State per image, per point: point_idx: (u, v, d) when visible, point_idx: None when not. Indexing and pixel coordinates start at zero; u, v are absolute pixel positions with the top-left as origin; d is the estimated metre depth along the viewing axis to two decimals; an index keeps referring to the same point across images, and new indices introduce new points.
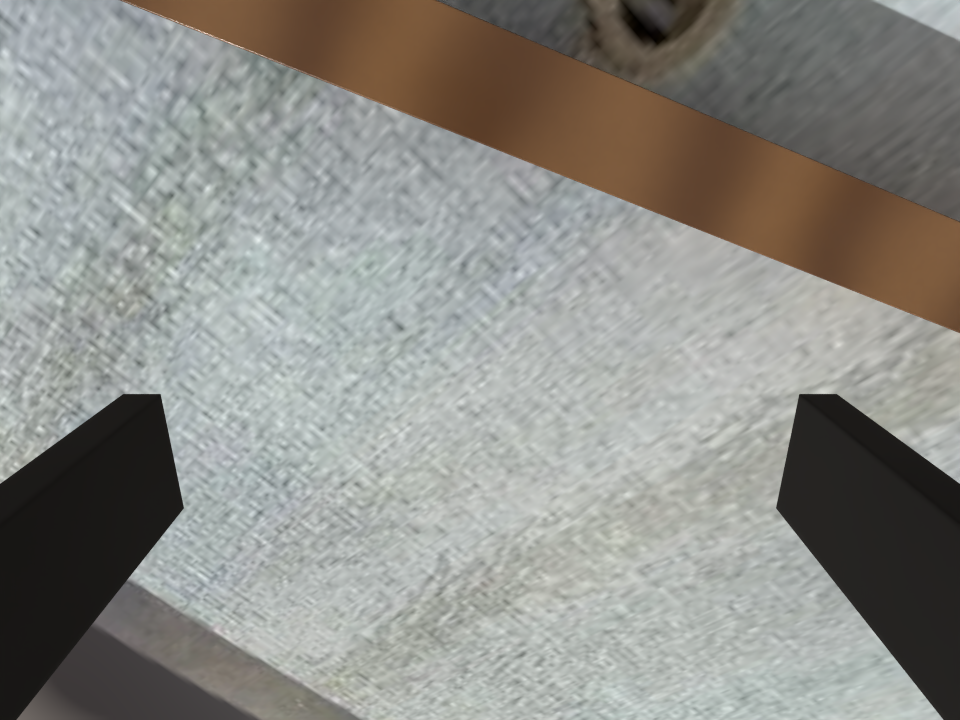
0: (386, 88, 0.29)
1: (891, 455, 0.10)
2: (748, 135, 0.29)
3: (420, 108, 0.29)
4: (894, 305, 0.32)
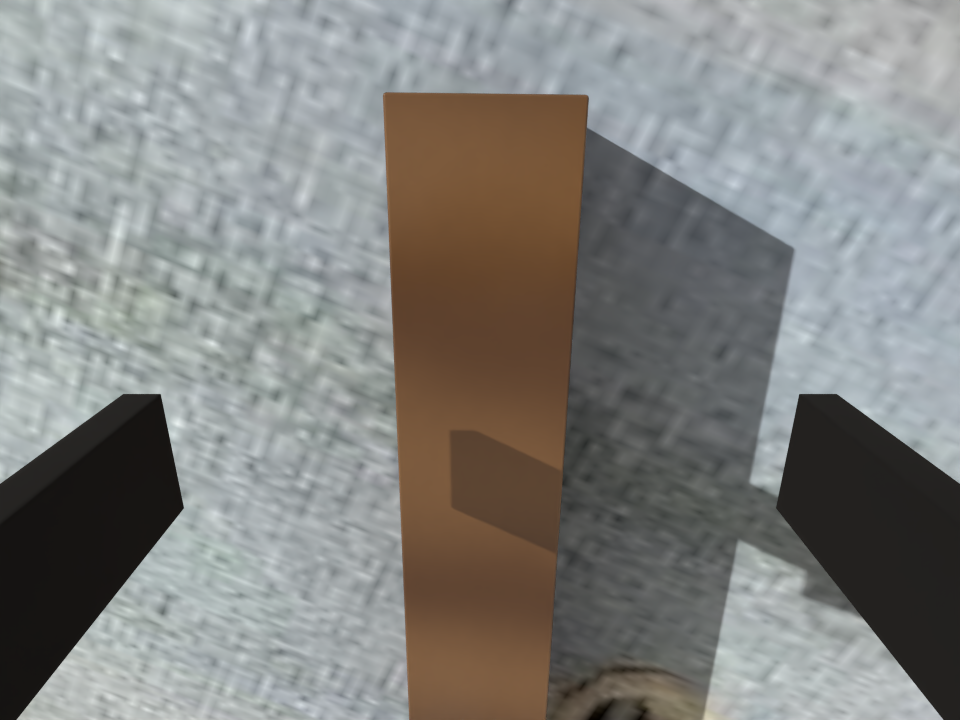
0: (427, 677, 0.21)
1: (891, 455, 0.10)
2: None
3: (421, 714, 0.22)
4: None
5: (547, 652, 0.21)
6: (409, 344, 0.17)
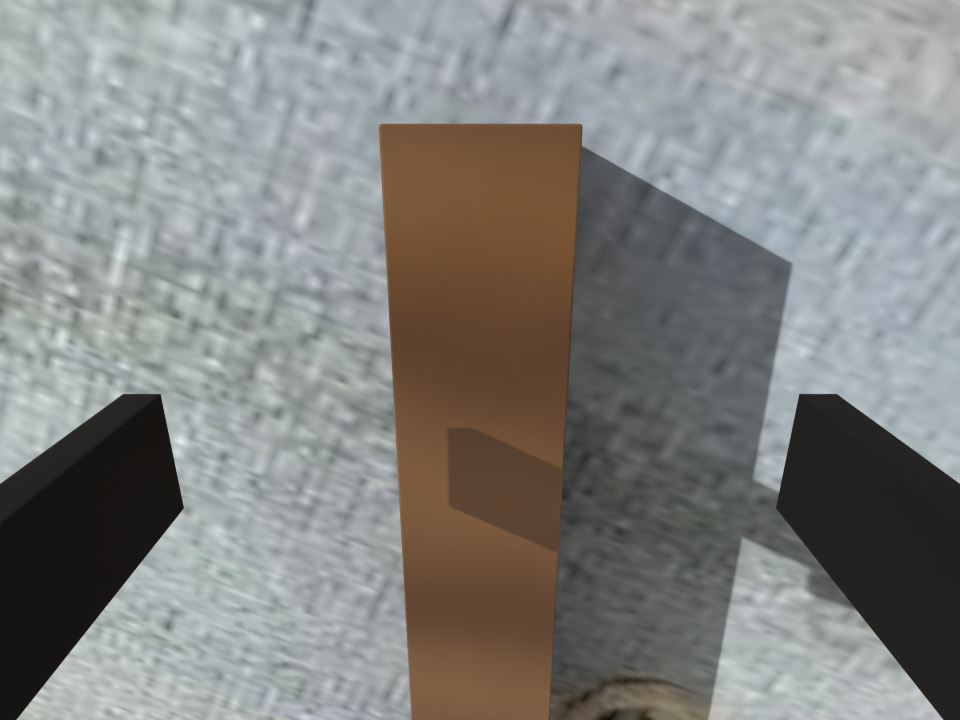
0: (430, 694, 0.21)
1: (891, 455, 0.10)
2: None
3: None
4: None
5: (548, 669, 0.21)
6: (408, 369, 0.17)
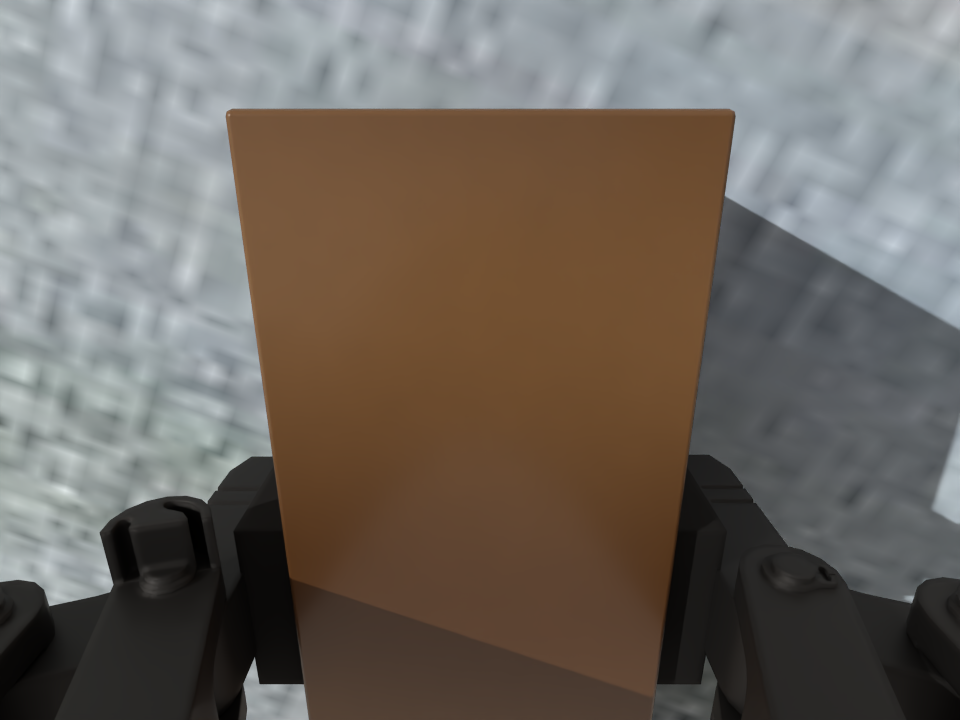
0: None
1: None
2: None
3: None
4: None
5: None
6: (328, 627, 0.08)
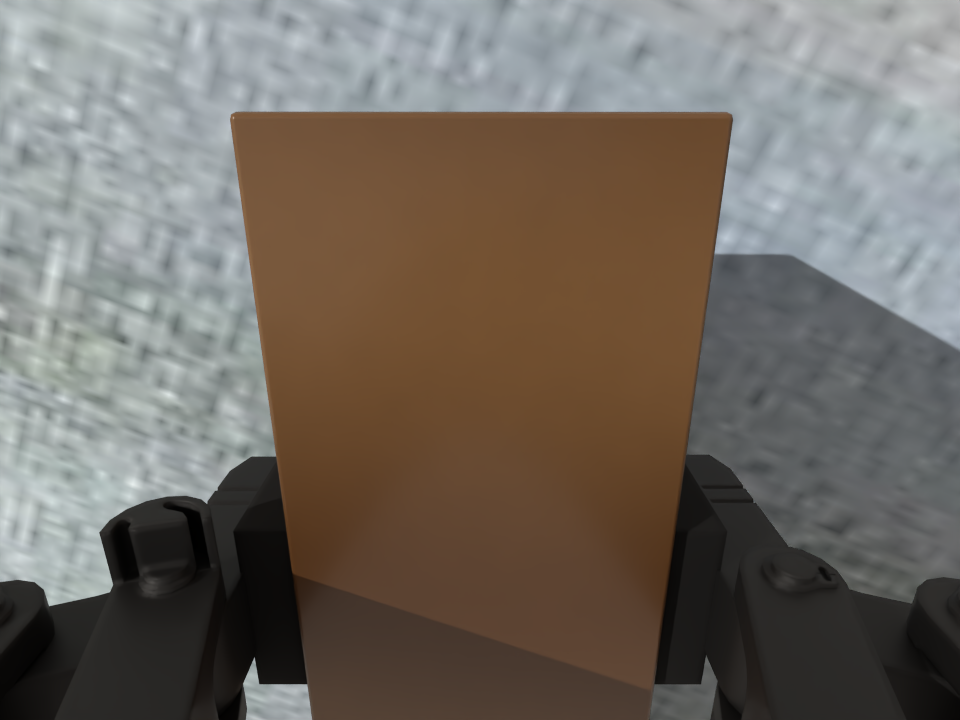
0: None
1: None
2: None
3: None
4: None
5: None
6: (331, 623, 0.08)
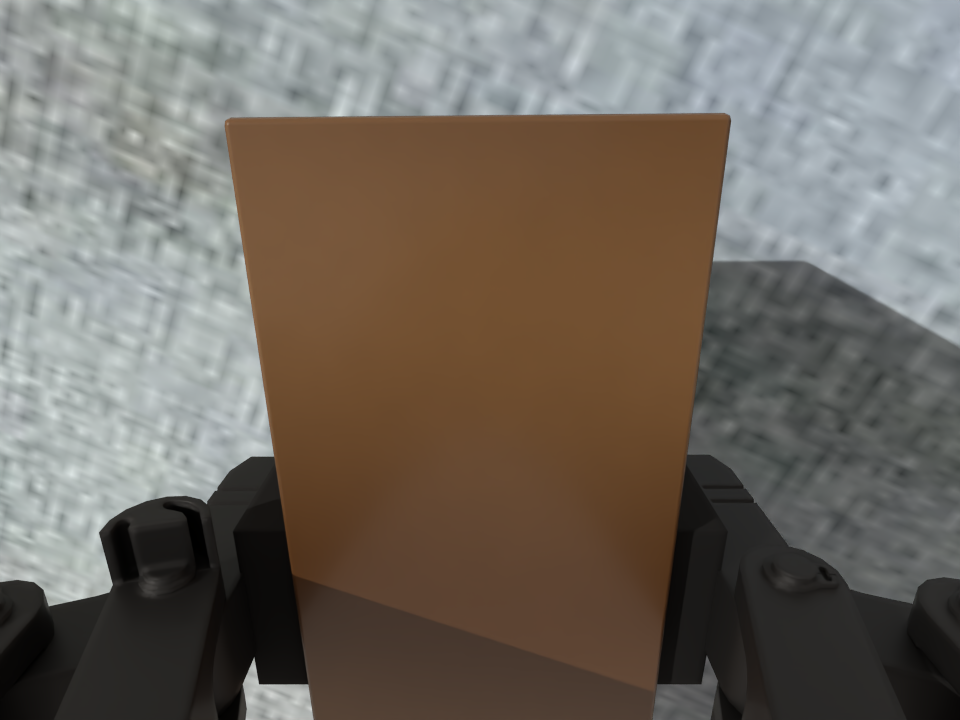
0: None
1: None
2: None
3: None
4: None
5: None
6: (331, 627, 0.08)
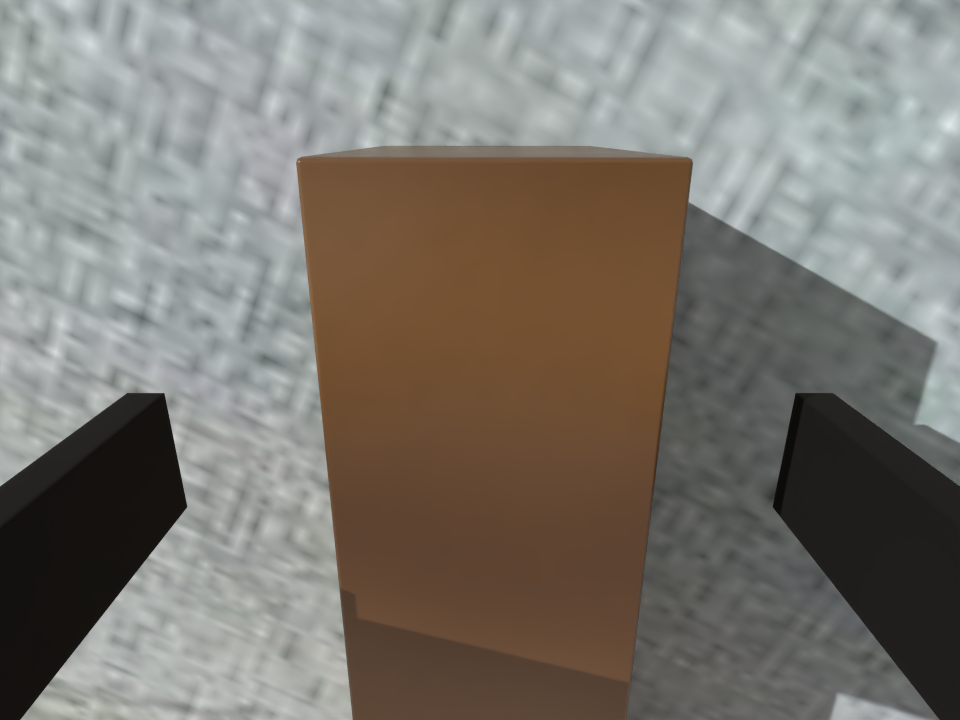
0: None
1: (886, 454, 0.10)
2: None
3: None
4: None
5: None
6: (365, 575, 0.10)
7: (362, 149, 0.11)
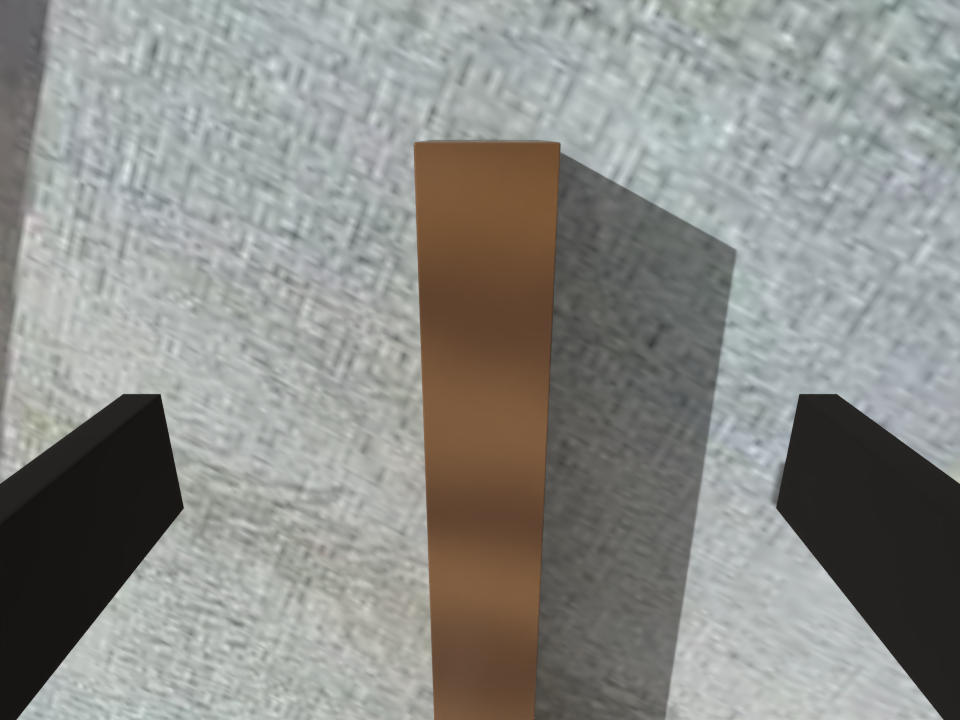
0: (445, 587, 0.27)
1: (891, 455, 0.10)
2: None
3: (440, 619, 0.28)
4: None
5: (538, 566, 0.27)
6: (432, 323, 0.23)
7: None
